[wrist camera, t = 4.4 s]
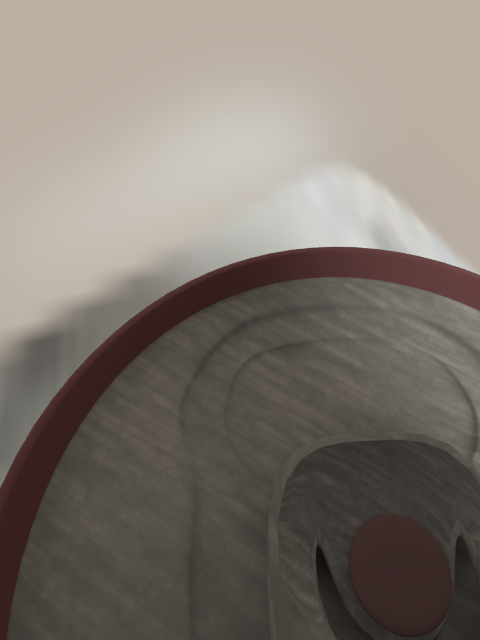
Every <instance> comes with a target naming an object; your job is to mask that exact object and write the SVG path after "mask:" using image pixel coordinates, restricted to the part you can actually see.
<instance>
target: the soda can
mask: <svg viewBox="0 0 480 640" xmlns="http://www.w3.org/2000/svg"><path fill="white" fill-rule="evenodd" d="M0 640H480V275H478V274H475V273H473V272H470V271H467V270H465V269H462V268H459V267H455V266H452V265H449V264H446V263H443V262H439V261H435V260H432V259H428V258H424V257H420V256H415V255H410V254H405V253H400V252H394V251H386V250H379V249H369V248H357V247H319V248H305V249H296V250H288V251H282V252H276V253H270V254H266V255H262V256H258V257H254V258H250V259H246V260H243V261H240V262H237V263H233V264H230V265H227V266H225V267H222V268H219V269H217V270H214V271H212V272H209V273H207V274H205V275H203V276H200V277H198V278H196V279H194V280H192V281H190V282H188V283H186V284H184V285H182V286H180V287H179V288H177V289H175V290H173V291H171V292H169V293H168V294H166V295H165V296H163V297H162V298H160V299H158V300H157V301H155V302H154V303H152V304H151V305H149V306H148V307H146V308H145V309H144V310H142V311H141V312H140V313H138V314H137V315H136V316H134V317H133V318H131V319H130V320H129V321H128V322H126V323H125V324H124V325H123V326H122V327H121V328H119V329H118V330H117V331H116V332H115V333H113V334H112V335H111V336H110V337H109V338H108V339H107V340H106V341H105V342H104V343H103V344H102V345H100V346H99V347H98V348H97V349H96V350H95V351H94V352H93V353H92V354H91V355H90V356H89V357H88V358H87V359H86V361H85V362H84V363H83V364H82V365H81V366H80V367H79V368H78V369H77V370H76V371H75V373H74V374H73V375H72V376H71V377H70V378H69V379H68V381H67V382H66V383H65V384H64V386H63V387H62V388H61V389H60V391H59V392H58V393H57V394H56V396H55V397H54V398H53V399H52V401H51V402H50V404H49V405H48V406H47V408H46V409H45V411H44V412H43V414H42V415H41V416H40V418H39V419H38V421H37V422H36V424H35V425H34V426H33V428H32V430H31V432H30V433H29V435H28V437H27V438H26V440H25V442H24V443H23V445H22V447H21V448H20V450H19V452H18V453H17V455H16V457H15V459H14V461H13V463H12V465H11V467H10V469H9V471H8V473H7V475H6V477H5V479H4V481H3V484H2V486H1V488H0Z"/></svg>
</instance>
